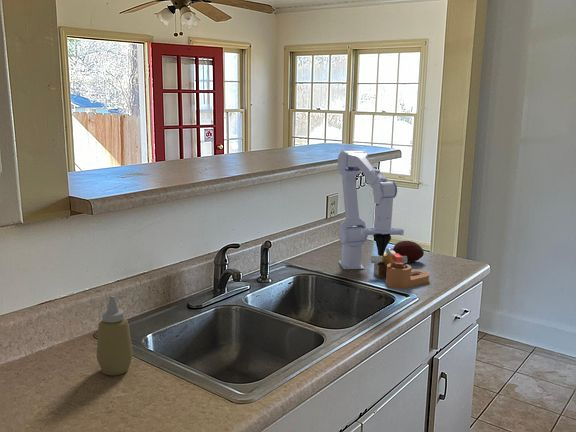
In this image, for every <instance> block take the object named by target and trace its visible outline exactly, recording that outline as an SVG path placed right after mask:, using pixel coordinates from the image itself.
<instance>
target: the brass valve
mask: <svg viewBox="0 0 576 432" xmlns="http://www.w3.org/2000/svg"><path fill="white" fill-rule="evenodd" d="M402 257H403V259H402V263H404V264H407V256H402ZM389 263H396V262H395V261H394V260H393V259H392V256H390V255H389V254H387V253H386V251H385V252H384V256H379V255H371V256H370V264H373V274H374V275H375V276H376V277H377V279H386V272H387V264H389Z"/></svg>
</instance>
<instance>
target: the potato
mask: <svg viewBox="0 0 576 432" xmlns="http://www.w3.org/2000/svg"><path fill="white" fill-rule="evenodd" d="M393 251H394V252H395V253H396V254H398V253H399V254H400V255H401V256H407V263H413V262H417V261H419V260H420V259H422V258H423V256H424V254H425V253H424V252H425V251H424V249H423V247H422V246H421V245H419V244H418V243H416V242H415V241H411V240H401V241H399V242H396V244H394V245H393ZM407 263H406V264H407Z"/></svg>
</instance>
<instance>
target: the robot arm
mask: <svg viewBox="0 0 576 432" xmlns="http://www.w3.org/2000/svg"><path fill="white" fill-rule="evenodd" d="M337 166H338V167H337V168H338V173H339V174H340V175H341V181H342V192H343V202H344V203H343V204H344V213H345V215H344V216H345V219H344V220H343V221H342V222H340V224H339V225H338V227H339V228H338V230H339V231H338V239H339V242H340V243H341V244H342V245H341V253H340V254H341V255H340V256H341V257H340V260H338V264H339V265H340V267H342V269H343V270H364V269H365V267H364V266H363V264H362V256H363V255H362V254H363V245H365V243H366V241H367V240H368V237H369V236H372V237H373V239H374V241H375V245H376V248H377V256H384V252H386V248H388V245H389V243H390V241H391V240H392V236H399V235H400V236H404V233H405V232H404V231H405V230H404V229H403V228H397V227H392V221H393V206H394V199H395V198H396V197H397V194H398V186H397V184H396V183H395V180H388V178H387V177H385V175H384V174H383V173H382V172H381V170H380V169H378V168H374V167H373V166H372V164H371V163H370V161H369V154H368V153H367V152H366V150H341V151H340V152H339V154H338V157H337ZM360 173H363V174H364V175H365V181H366V182H367V184H368V185H369V186H370V187H371V188H372V194H373V199H374V200H373V201H374V202H373V203H374V204H375V206H374V207H375V208H374V209H375V210H374V222H373V225H374V226H373V227H368V228H367V226H366V222H365V221H364V220H363V219H361V218H360V214H359V203H358V201H359V200H358V192H357V191H358V190H357V181H356V180H357V179H356V177H357V175H358V174H360Z"/></svg>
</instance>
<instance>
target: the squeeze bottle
mask: <svg viewBox="0 0 576 432" xmlns="http://www.w3.org/2000/svg"><path fill="white" fill-rule="evenodd" d="M124 312H125V311H124V310H123V309H121V308H119V306H118V302H117V299H116V296H115V295H111V296H109V297H108V304H107V309H106V310H103V312H102V313H101V314H102V320H100V322H99V323H98V325H97V326H98V328H97V331H98V332H97V344H96V360H97V363H98V364H99V368H100V370H101V371H102V373H103V374H105V375H108V376H120V375H122V374H125V373H126V372H128V370H129V368H130V365H131V362H132V359H133V355H134V352H133V344H132V337H131V331H130V324H129V320H128V319H127V318H126V317H125V313H124Z"/></svg>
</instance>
